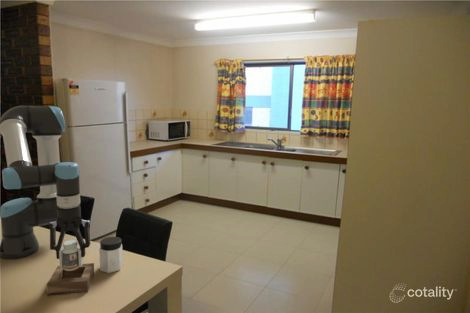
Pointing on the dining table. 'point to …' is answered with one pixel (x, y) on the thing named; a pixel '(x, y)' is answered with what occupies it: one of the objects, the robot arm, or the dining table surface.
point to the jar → (110, 254)
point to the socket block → (70, 280)
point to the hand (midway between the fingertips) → (71, 265)
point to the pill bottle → (70, 255)
